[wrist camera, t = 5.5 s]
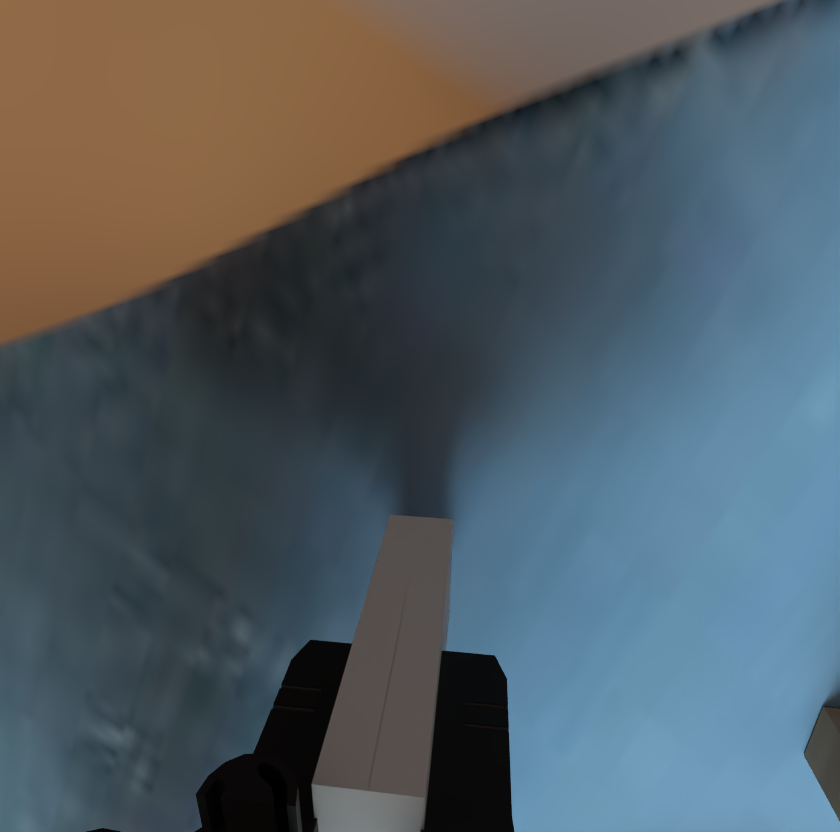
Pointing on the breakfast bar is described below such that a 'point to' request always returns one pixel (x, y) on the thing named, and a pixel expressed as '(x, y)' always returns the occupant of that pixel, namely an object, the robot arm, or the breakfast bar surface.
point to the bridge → (826, 755)
